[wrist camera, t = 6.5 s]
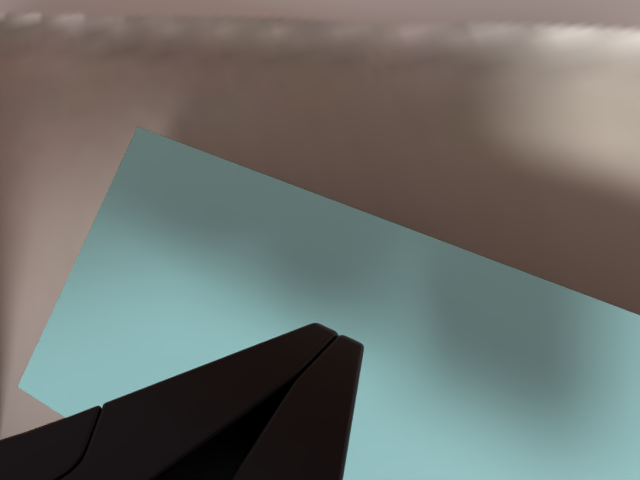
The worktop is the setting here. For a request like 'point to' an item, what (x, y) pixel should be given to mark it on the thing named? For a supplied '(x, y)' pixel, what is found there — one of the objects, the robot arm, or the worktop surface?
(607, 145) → the worktop surface
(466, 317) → the lid
